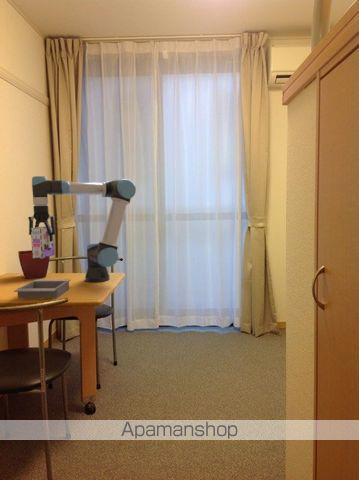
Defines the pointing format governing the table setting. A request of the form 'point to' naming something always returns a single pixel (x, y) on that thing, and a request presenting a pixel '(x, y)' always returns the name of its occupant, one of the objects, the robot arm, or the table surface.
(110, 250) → the robot arm
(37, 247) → the candy box
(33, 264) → the plant pot
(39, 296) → the grey rectangular frame
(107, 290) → the table surface
